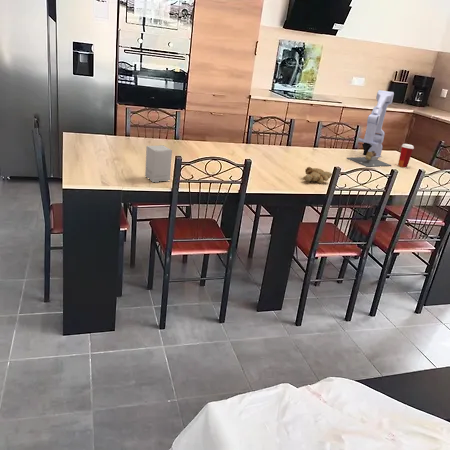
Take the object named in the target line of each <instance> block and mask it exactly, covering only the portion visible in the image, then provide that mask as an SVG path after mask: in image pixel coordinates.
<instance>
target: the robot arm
mask: <svg viewBox="0 0 450 450" xmlns="http://www.w3.org/2000/svg"><path fill="white" fill-rule="evenodd" d="M394 95H395V93H394V91H388V90H383V89H379V90H378V91H377V93H376V102H377V104H376V105H375V106H374V107H373V108H372V111H371V114H369V115H368V117H367V122H366V128H365V134H364V137H363V138H361V137H358V138H357V142H359V143H362V149H363V153H362V155H363V156H366V154H367V152H372V151H375V153H376V156H377V157H378V158H381V157H382V155H381V154H382V151H383V143H384V138H385V134H386V133H385V131H384V130H383V124H384V121H385V116H386V113H387V110H388V109H387V108H388V107H389V105H392V103H393V99H394Z"/></svg>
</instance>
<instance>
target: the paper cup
mask: <svg viewBox="0 0 450 450" xmlns="http://www.w3.org/2000/svg"><path fill="white" fill-rule="evenodd" d="M414 149H415V147H414V145H412V144H410V143H409V144H408V143H403V144H402V145H401V149H400V153H399V154H400V155H399V159H398V163H397V166H398V167H401V168H407V167H408V165H409V163H410V160H411V157H412V153H413V151H414Z"/></svg>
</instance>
